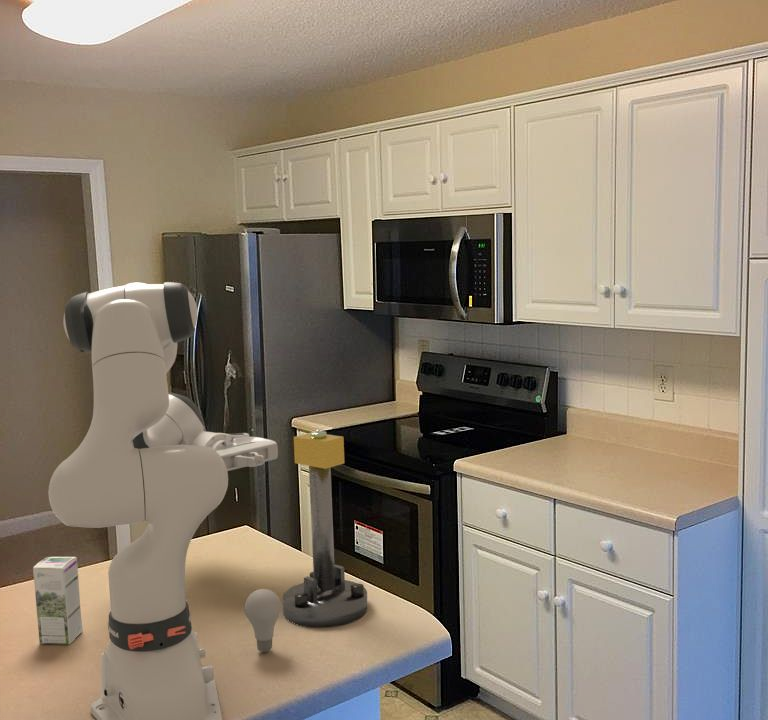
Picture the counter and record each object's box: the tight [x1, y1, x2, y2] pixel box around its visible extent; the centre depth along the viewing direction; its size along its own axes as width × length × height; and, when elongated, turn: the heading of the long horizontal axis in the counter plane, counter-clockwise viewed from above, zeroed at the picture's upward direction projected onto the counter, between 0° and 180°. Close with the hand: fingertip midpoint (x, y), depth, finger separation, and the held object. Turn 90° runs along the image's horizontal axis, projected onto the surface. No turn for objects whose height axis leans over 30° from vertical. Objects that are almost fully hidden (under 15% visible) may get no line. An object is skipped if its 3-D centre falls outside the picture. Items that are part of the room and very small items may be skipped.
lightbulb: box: [244, 588, 282, 654], centre depth 148 cm, size 6×6×11 cm
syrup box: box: [32, 556, 83, 646], centre depth 155 cm, size 6×6×14 cm
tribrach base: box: [282, 564, 368, 629], centre depth 165 cm, size 16×16×7 cm
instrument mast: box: [293, 429, 345, 595], centre depth 163 cm, size 8×6×31 cm
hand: (259, 461), depth 173 cm, fingers closed
